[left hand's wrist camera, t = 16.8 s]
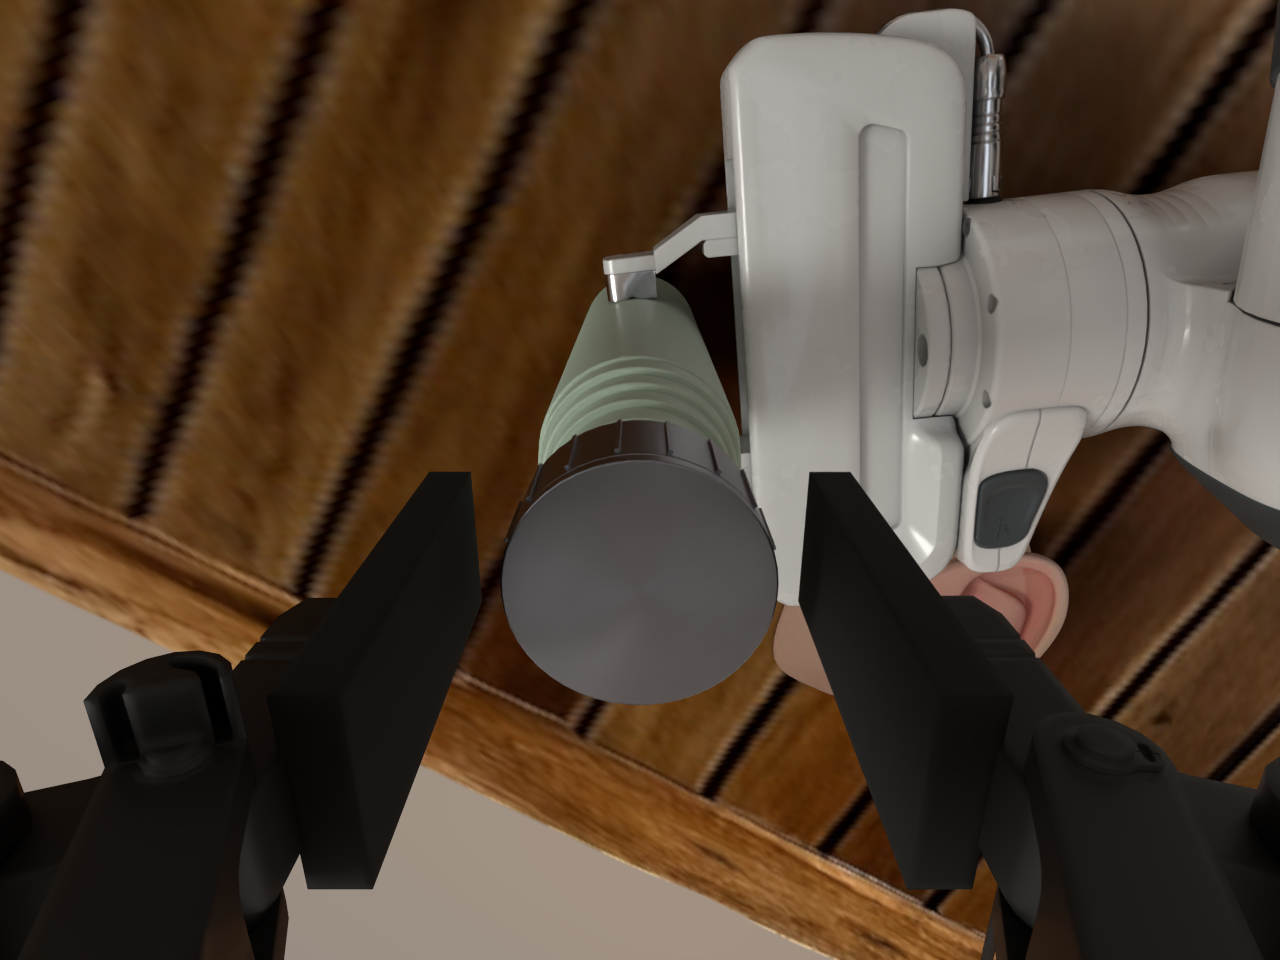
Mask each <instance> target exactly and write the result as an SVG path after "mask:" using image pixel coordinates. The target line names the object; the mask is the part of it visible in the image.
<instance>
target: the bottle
mask: <svg viewBox="0 0 1280 960" xmlns="http://www.w3.org/2000/svg"><path fill="white" fill-rule="evenodd" d="M656 288H657V298H648V299H637V298H635V297H633V296H631V297H630V298H629V299H628V300H625V301H621V302H609V301H608V296H607V289H606V287H605V288H604V289H603V290H602V291H601V292H600V293H599V294H598V295H597V297H596V298H595V299H594V301H593V303H592V304H591V307H590V309H589V311H588V313H587V316H586V318H585V321H584V323H583V326H582V328H581V331H580V333H579V335H578V338H577V340H576V343H575V345H574V348H573V350H572V353H571V355H570V358H569V360H568V362H567V365H566V367H565V370H564V372H563V375H562V377H561V380H560V382H559V384H558V387H557V389H556V392H555V394H554V397H553V399H552V402H551V404H550V407H549V409H548V411H547V414H546V416H545V419H544V422H543V426H542V429H541V434H540V440H539V453H538V465H539V464H540V463H542V464H544V462H545V461H546V460H547V459H548V458H549V457H550V456H551V455H552V454H553V453H554V452H555V451H556V450H557V449H558V448H560V447H561V446H563V445H564V444H565V443H567V442H568V441H569V440H571V439H572V436H573V435H575V434H577V436H578V435H580V434H582V433H584V432H586V431H588V430H591V429H594V428H596V427H599V426H602V425H606V424H610V423H614V422H617V420H620V419H622V421H630V420H651V421H658V422H665V421H670V424H673V425H677V426H680V427H683V428H686V429H688V430H691V431H693V432H695V433H698V434H699V435H701V436H703V437H705V438H706V439H708V440H709V438H711V439H712V440H713V441H714V444H715V445H717V446H718V447H719V448H720V449H722V450H723V451H724V452H725V453H726V454H727V455H728V456H729V457H730V458H731V459H732V460H733V461H734V462H735V463H736V465H737V466H738V467H739V469H740V470H741V451H740V437H739V431H738V427H737V424H736V421H735V418H734V415H733V413H732V410H731V408H730V405H729V403H728V400H727V398H726V395H725V393H724V390H723V388H722V385H721V383H720V380H719V378H718V376H717V373H716V371H715V368H714V366H713V363H712V361H711V358H710V356H709V353H708V351H707V348H706V346H705V343H704V341H703V338H702V336H701V333H700V331H699V329H698V326H697V324H696V321H695V319H694V316H693V314H692V311H691V309H690V307H689V305H688V303H687V301H686V300H685V298H684V297H683V295H682V294H681V293H680V292H679V291H678V290H677V289H676V288H675V287H674V286H672V285H671V284H669V283H668V282H666V281H664V280H662V279H659V278H656Z"/></svg>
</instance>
